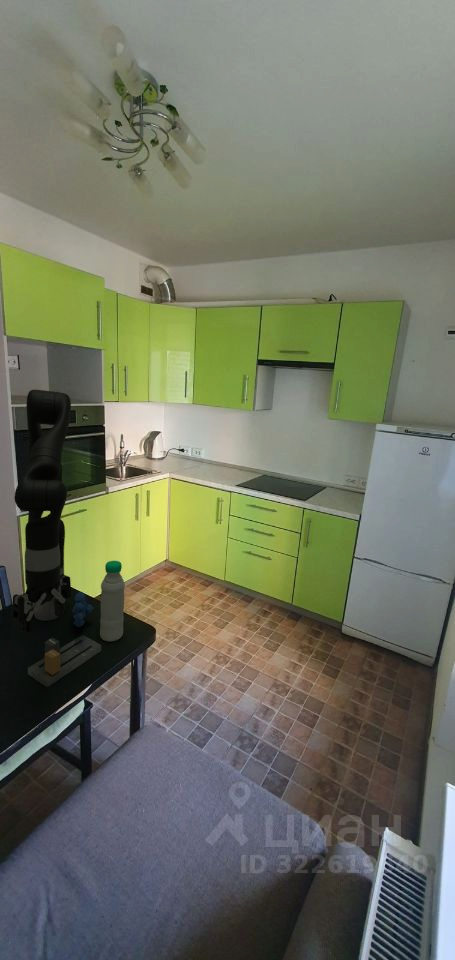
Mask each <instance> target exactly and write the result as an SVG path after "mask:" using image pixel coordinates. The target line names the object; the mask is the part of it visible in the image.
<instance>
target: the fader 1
mask: <svg viewBox="0 0 455 960" xmlns="http://www.w3.org/2000/svg"><path fill="white" fill-rule="evenodd" d="M60 648H61V646H60V641H59V640H57V639H55V638H54V637H51V638H49V639H47V640H46V641H44V654H45V653H47V652H49V651H51V650H52V649H53V650H55V651H57V652H58V653H60Z"/></svg>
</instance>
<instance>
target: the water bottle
mask: <svg viewBox="0 0 455 960" xmlns="http://www.w3.org/2000/svg"><path fill="white" fill-rule="evenodd" d="M104 567H105V569H104V570H105V573H106V574H105V576H104V578H103V579H102V582H101V583H100V589H101V590H100V618H99V619H100V620H99V623H100V629H99V636H100V639H102V640H103V641H105V642H116V641H118V640H119V639H121V638H122V636H123V635H124V612H125V611H124V608H125V586H126V583H125V581H124V579H123V578H124V577H123V576H122V574H121V572H122V568H123V567H122V562H120V561H118V560H110V561H109V560H108V561H107V562H106V563H105V566H104Z"/></svg>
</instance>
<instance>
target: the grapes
mask: <svg viewBox="0 0 455 960" xmlns="http://www.w3.org/2000/svg"><path fill="white" fill-rule="evenodd" d="M73 600H74V601H75V602H76V603H75V605H74V606H73V608H72V609H71V611H72V613H73V614H74V615H73V618H74V621H73V625H74V626H75V627H77V628H81V627H82V626H83V625H85V623H86V621H85V620H84V618H85V617H86V616H87V614H88V615H89V614H90V613H91V612H92V611H93V610H94V609H95V608H94V607H93V606H92V605H91V604H88V603H87V602H86V594H84V592H83V591H78V592H77V593H76V594H75V596H74V599H73Z"/></svg>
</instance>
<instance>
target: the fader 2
mask: <svg viewBox="0 0 455 960" xmlns="http://www.w3.org/2000/svg"><path fill="white" fill-rule="evenodd" d="M44 658H45V671H47V672H48V673H50V674H51V675H53V674H55V673H56V672H58V671H59V670H60V653H58V652H57V651H55V650H53V649H52V650H51V651H49V652H47V653H45V652H44Z"/></svg>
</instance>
